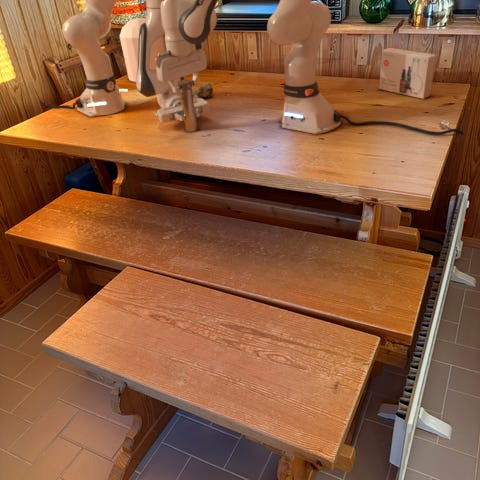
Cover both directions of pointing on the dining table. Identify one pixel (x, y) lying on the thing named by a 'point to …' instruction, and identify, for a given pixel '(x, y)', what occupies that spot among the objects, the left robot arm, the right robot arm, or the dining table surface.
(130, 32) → the container
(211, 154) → the dining table surface
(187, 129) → the brown cylinder
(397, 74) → the skincare box
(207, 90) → the rock
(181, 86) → the lid
